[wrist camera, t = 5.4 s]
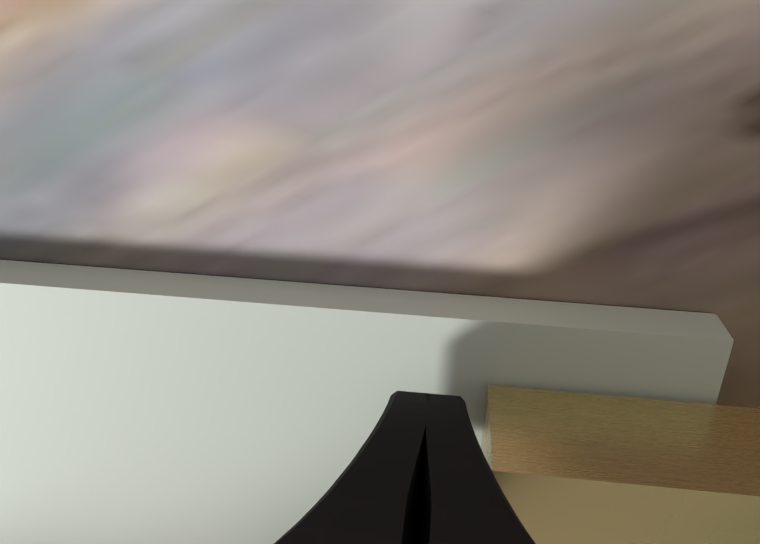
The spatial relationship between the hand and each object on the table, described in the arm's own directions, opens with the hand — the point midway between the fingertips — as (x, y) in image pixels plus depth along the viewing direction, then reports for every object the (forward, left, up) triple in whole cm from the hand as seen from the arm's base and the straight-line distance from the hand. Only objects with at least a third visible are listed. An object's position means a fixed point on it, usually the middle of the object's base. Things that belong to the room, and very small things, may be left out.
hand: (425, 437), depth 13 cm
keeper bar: (+5, 0, -1) cm, 5 cm away
